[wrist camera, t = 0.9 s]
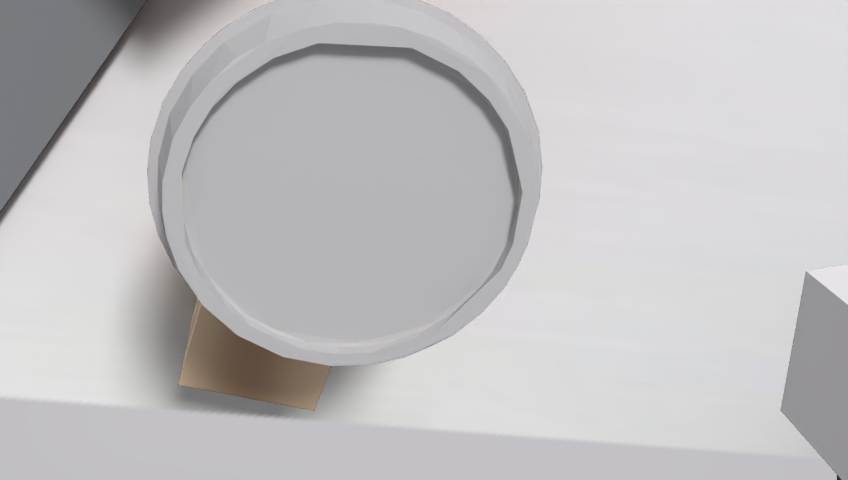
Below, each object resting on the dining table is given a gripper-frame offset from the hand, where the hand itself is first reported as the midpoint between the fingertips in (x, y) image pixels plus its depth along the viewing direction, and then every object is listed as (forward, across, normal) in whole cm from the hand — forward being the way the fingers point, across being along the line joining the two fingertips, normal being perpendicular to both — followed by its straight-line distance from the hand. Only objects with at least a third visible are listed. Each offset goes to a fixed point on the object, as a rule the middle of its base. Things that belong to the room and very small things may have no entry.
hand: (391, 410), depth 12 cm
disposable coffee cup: (+19, 0, 0) cm, 19 cm away
